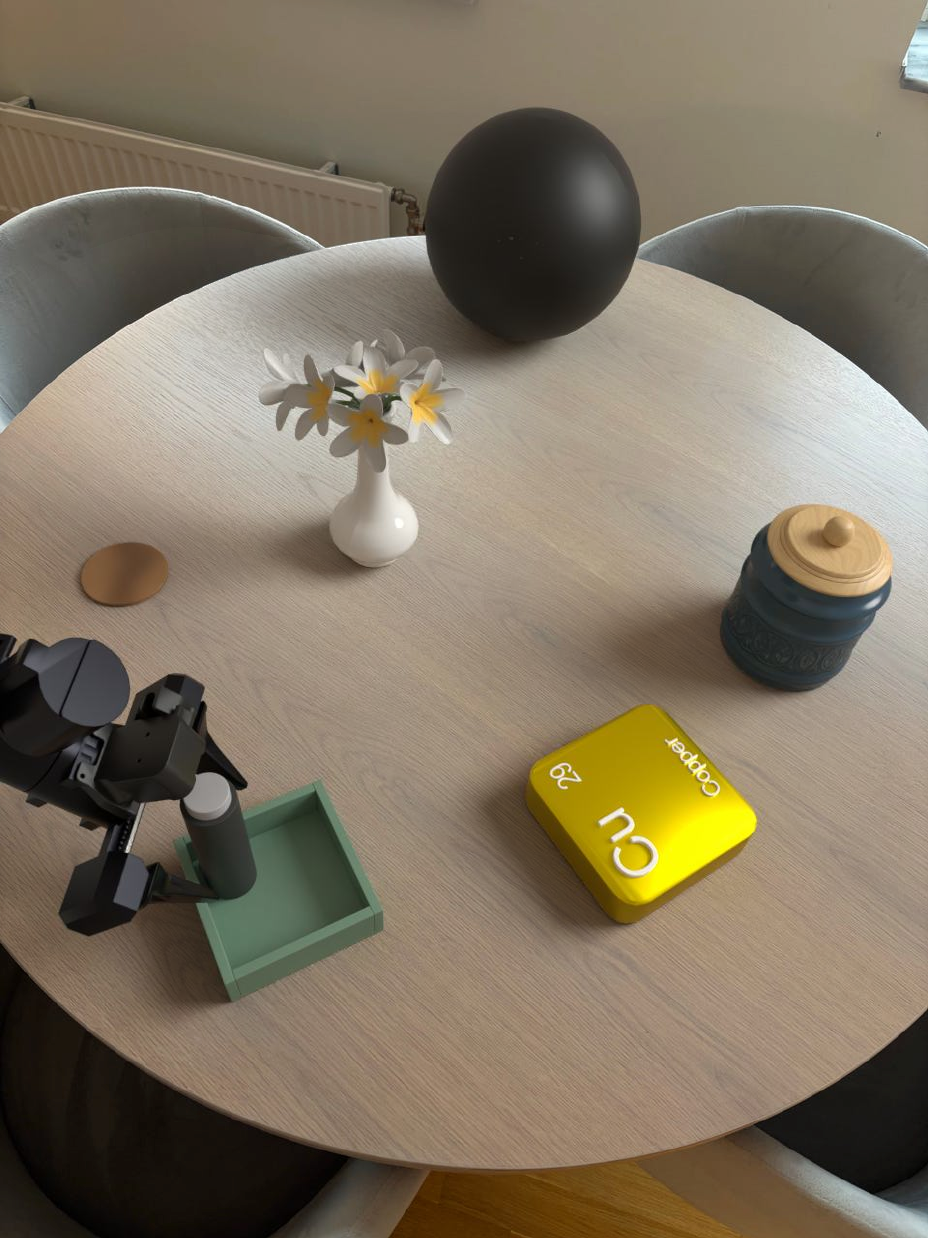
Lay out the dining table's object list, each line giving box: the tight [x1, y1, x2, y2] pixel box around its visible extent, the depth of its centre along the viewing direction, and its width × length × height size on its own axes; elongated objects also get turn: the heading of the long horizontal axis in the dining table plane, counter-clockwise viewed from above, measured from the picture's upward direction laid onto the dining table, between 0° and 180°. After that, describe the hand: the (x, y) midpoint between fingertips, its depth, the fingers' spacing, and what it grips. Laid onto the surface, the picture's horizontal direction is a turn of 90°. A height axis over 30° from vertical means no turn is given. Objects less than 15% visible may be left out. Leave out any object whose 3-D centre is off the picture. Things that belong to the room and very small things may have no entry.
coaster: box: [80, 541, 169, 608], centre depth 97 cm, size 8×8×1 cm
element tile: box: [524, 703, 758, 925], centre depth 82 cm, size 15×15×5 cm
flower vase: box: [258, 328, 467, 569], centre depth 92 cm, size 13×18×25 cm
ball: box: [424, 106, 642, 342], centre depth 119 cm, size 27×27×27 cm
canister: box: [719, 503, 894, 692], centre depth 90 cm, size 13×13×18 cm
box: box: [172, 779, 384, 1003], centre depth 76 cm, size 13×13×4 cm
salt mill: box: [179, 773, 257, 900], centre depth 72 cm, size 4×4×14 cm
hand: (231, 841), depth 72 cm, fingers open, 9 cm apart
